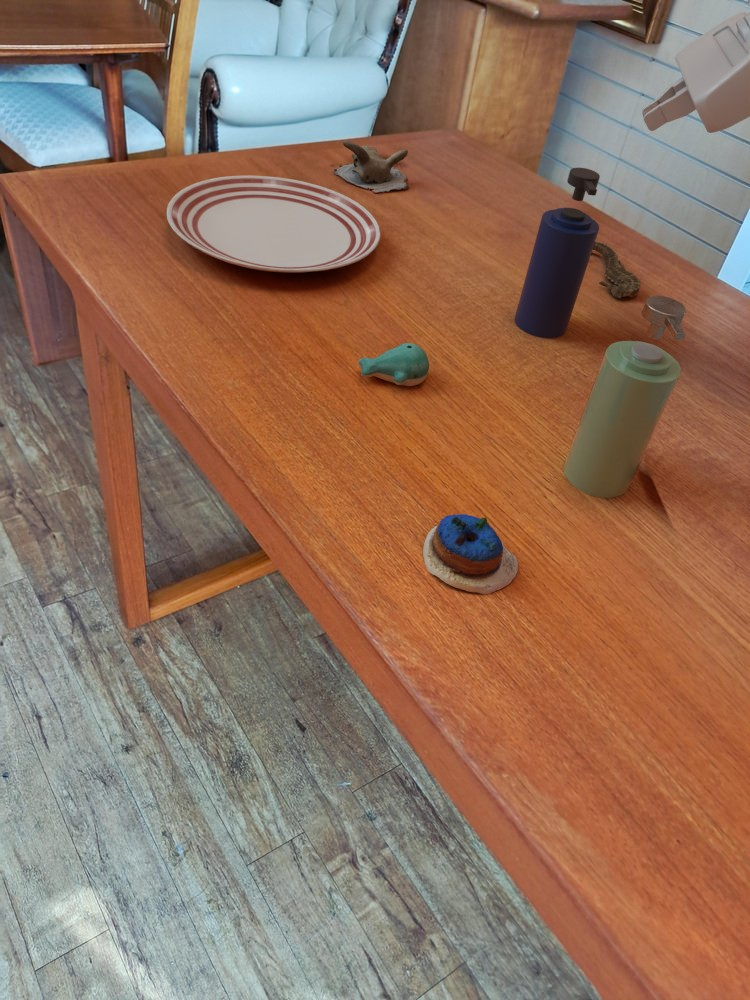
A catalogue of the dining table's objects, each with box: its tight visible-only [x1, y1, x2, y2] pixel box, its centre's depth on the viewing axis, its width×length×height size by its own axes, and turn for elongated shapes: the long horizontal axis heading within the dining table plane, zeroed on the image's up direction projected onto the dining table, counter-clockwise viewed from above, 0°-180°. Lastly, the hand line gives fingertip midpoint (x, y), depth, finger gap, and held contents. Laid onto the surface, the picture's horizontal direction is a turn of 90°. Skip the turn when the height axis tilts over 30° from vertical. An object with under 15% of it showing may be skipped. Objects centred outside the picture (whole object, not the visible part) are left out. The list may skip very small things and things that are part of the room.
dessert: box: [422, 513, 519, 595], centre depth 65 cm, size 8×7×6 cm
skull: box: [333, 141, 409, 194], centre depth 122 cm, size 10×12×6 cm
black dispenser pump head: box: [566, 167, 601, 202], centre depth 84 cm, size 3×6×3 cm, turn 2°
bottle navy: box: [514, 207, 600, 339], centre depth 92 cm, size 6×6×14 cm
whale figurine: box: [357, 342, 430, 387], centre depth 83 cm, size 6×7×4 cm
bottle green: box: [562, 340, 682, 499], centre depth 71 cm, size 6×6×14 cm
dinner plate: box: [166, 175, 381, 273], centre depth 103 cm, size 27×27×3 cm
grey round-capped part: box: [641, 295, 687, 341], centre depth 64 cm, size 3×6×3 cm, turn 2°
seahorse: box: [592, 241, 642, 300], centre depth 108 cm, size 6×15×2 cm, turn 13°
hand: (645, 121), depth 81 cm, fingers closed
